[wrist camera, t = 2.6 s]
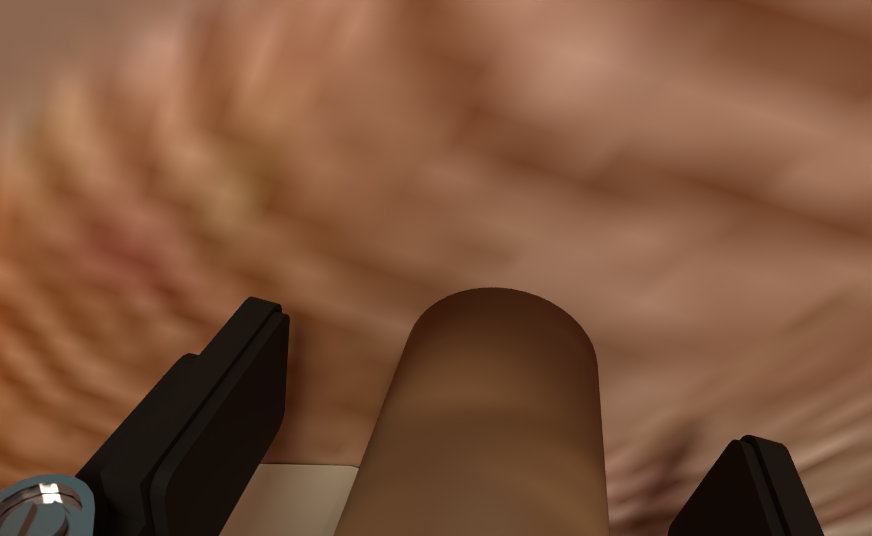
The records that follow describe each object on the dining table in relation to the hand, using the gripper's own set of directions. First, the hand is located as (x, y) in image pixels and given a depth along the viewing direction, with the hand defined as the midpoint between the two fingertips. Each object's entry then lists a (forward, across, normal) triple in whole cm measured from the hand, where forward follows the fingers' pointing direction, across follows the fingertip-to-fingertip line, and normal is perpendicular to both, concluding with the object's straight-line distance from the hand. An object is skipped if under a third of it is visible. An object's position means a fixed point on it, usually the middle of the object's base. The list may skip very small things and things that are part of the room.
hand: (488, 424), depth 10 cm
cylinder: (+2, 0, 0) cm, 2 cm away
